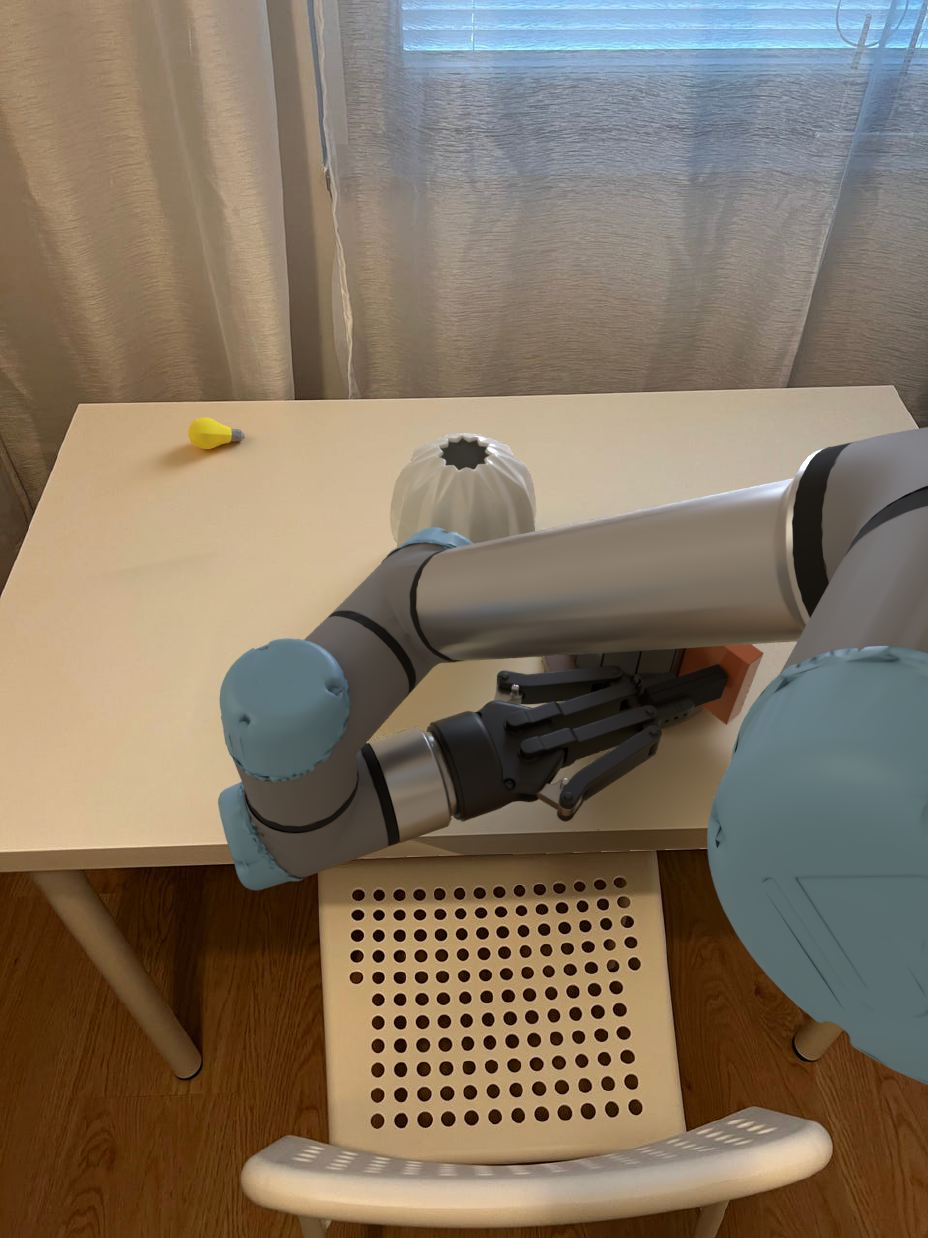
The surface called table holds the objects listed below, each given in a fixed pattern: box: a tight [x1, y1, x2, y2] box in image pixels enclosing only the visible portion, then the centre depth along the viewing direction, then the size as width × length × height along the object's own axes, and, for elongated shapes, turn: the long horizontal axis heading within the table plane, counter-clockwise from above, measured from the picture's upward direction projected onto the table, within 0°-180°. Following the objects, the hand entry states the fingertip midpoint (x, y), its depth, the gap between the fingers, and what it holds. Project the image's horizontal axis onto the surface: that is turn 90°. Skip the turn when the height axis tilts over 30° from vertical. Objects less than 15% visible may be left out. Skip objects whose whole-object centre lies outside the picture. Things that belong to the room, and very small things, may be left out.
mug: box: [573, 644, 765, 725], centre depth 78 cm, size 12×15×10 cm
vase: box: [389, 432, 537, 548], centre depth 87 cm, size 14×14×13 cm
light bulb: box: [187, 416, 246, 450], centre depth 103 cm, size 3×6×4 cm, turn 106°
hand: (719, 681), depth 74 cm, fingers closed
